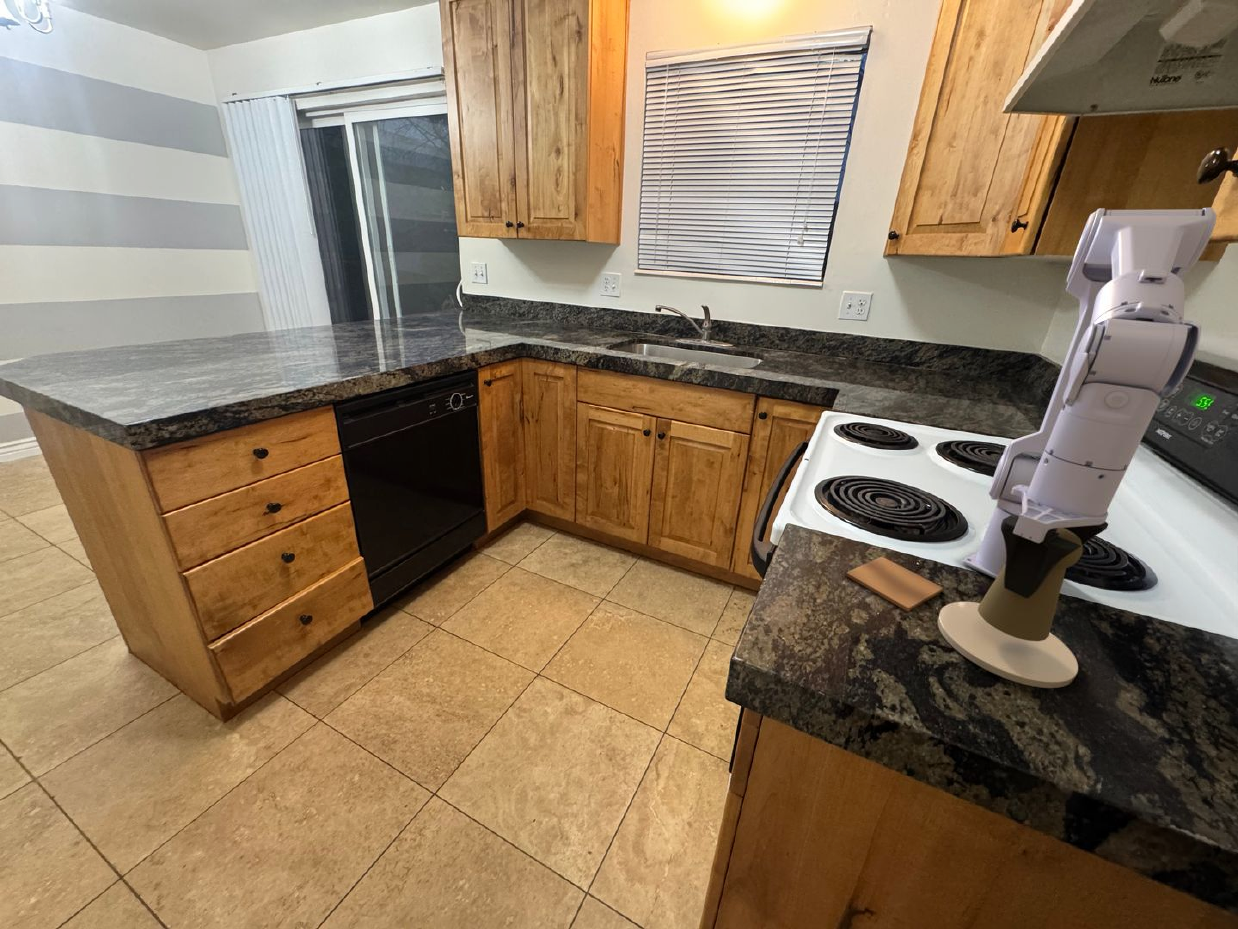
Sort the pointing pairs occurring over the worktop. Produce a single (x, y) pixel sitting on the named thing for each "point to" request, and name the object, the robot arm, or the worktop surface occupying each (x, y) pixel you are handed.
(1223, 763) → the worktop surface
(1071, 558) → the pepper shaker
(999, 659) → the plate
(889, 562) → the cork trivet
